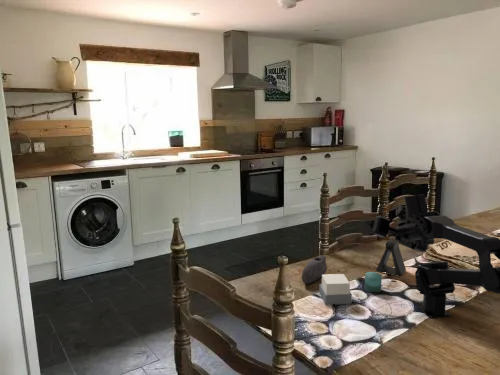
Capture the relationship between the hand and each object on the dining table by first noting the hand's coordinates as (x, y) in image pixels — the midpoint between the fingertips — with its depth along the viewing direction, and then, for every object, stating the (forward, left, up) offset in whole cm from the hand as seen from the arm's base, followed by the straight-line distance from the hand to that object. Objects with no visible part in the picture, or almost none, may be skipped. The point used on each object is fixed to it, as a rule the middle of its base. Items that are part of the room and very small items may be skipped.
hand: (387, 237), depth 136 cm
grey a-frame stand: (+6, -4, -15) cm, 17 cm away
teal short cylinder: (-8, +8, -15) cm, 19 cm away
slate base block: (-13, +22, -15) cm, 30 cm away
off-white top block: (-14, +22, -12) cm, 28 cm away
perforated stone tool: (+1, +25, -15) cm, 29 cm away
